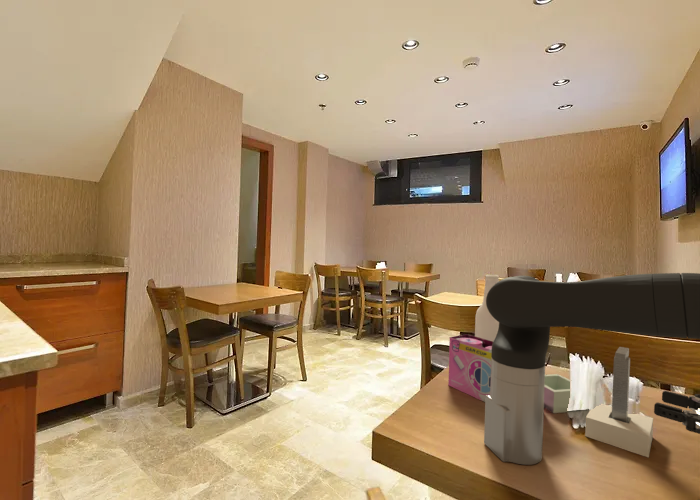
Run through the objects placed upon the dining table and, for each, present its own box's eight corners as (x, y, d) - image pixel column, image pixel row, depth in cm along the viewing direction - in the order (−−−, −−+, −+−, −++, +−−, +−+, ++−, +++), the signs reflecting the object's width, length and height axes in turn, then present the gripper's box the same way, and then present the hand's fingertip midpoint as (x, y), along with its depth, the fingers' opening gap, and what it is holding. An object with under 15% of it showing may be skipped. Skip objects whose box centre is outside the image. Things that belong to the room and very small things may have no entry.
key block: (648, 457, 65) (649, 436, 65) (585, 436, 72) (585, 417, 72) (652, 437, 73) (653, 418, 73) (594, 419, 80) (595, 402, 80)
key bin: (553, 413, 82) (554, 392, 82) (524, 394, 92) (525, 375, 92) (589, 410, 84) (590, 389, 84) (557, 392, 94) (558, 374, 94)
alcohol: (483, 365, 114) (486, 273, 113) (510, 373, 107) (513, 275, 106) (468, 371, 108) (471, 274, 108) (495, 380, 102) (498, 277, 101)
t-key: (624, 444, 70) (627, 354, 69) (609, 440, 71) (612, 352, 71) (628, 433, 74) (631, 348, 73) (613, 429, 76) (617, 346, 75)
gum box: (550, 415, 81) (552, 357, 81) (531, 424, 77) (533, 363, 77) (465, 380, 101) (467, 333, 101) (446, 385, 97) (448, 336, 97)
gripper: (791, 402, 60) (665, 374, 72) (798, 430, 51) (652, 392, 63) (788, 445, 60) (663, 409, 73) (795, 481, 51) (650, 433, 63)
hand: (658, 401), depth 68 cm, fingers open, 8 cm apart
